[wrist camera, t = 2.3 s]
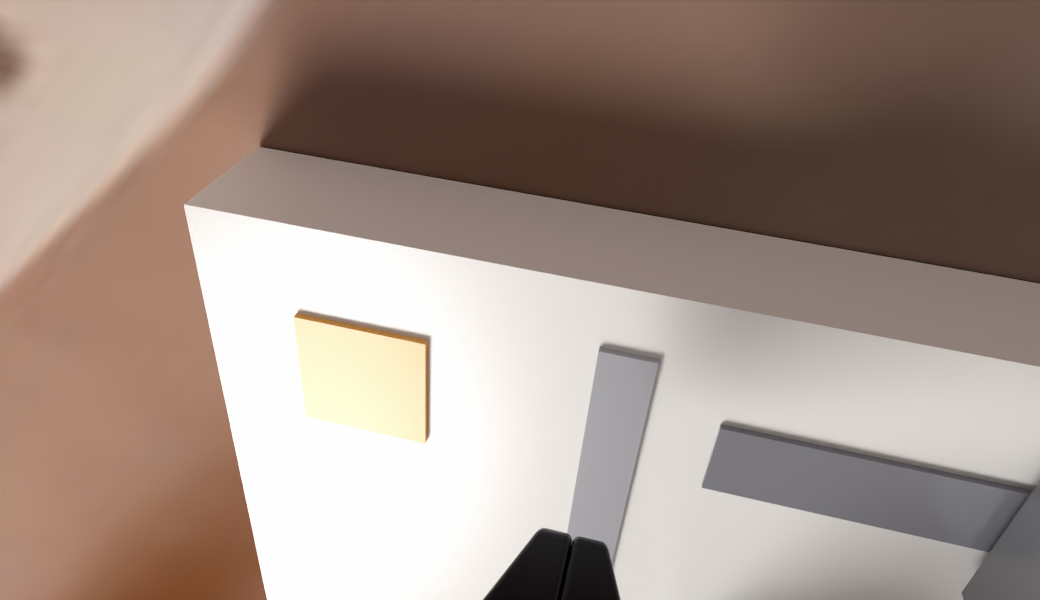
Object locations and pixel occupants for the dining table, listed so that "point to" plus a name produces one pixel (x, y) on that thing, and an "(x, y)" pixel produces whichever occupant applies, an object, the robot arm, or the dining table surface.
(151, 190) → the dining table surface
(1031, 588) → the block
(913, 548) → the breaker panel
